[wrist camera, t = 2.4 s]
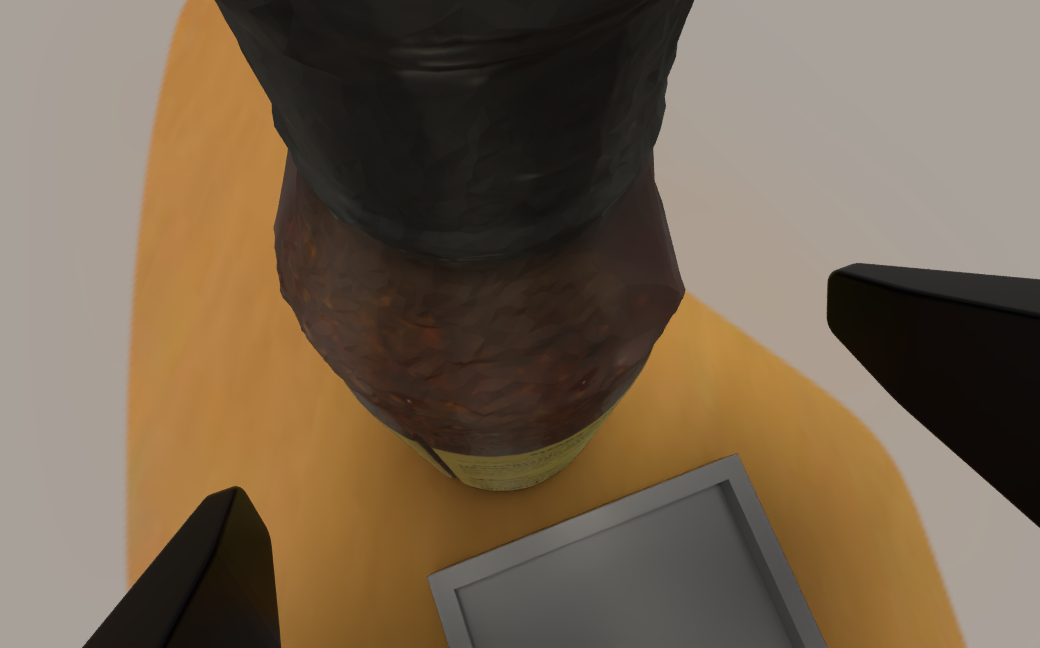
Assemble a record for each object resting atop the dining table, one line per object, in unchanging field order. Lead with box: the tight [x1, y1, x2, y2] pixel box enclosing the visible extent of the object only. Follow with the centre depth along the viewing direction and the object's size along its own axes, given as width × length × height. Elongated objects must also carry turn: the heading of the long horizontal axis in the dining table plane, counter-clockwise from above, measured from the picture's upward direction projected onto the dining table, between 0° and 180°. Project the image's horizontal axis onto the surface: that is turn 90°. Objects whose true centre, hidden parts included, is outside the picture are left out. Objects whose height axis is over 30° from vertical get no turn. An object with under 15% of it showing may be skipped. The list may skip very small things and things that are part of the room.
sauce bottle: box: [215, 0, 694, 491], centre depth 12 cm, size 7×6×20 cm
